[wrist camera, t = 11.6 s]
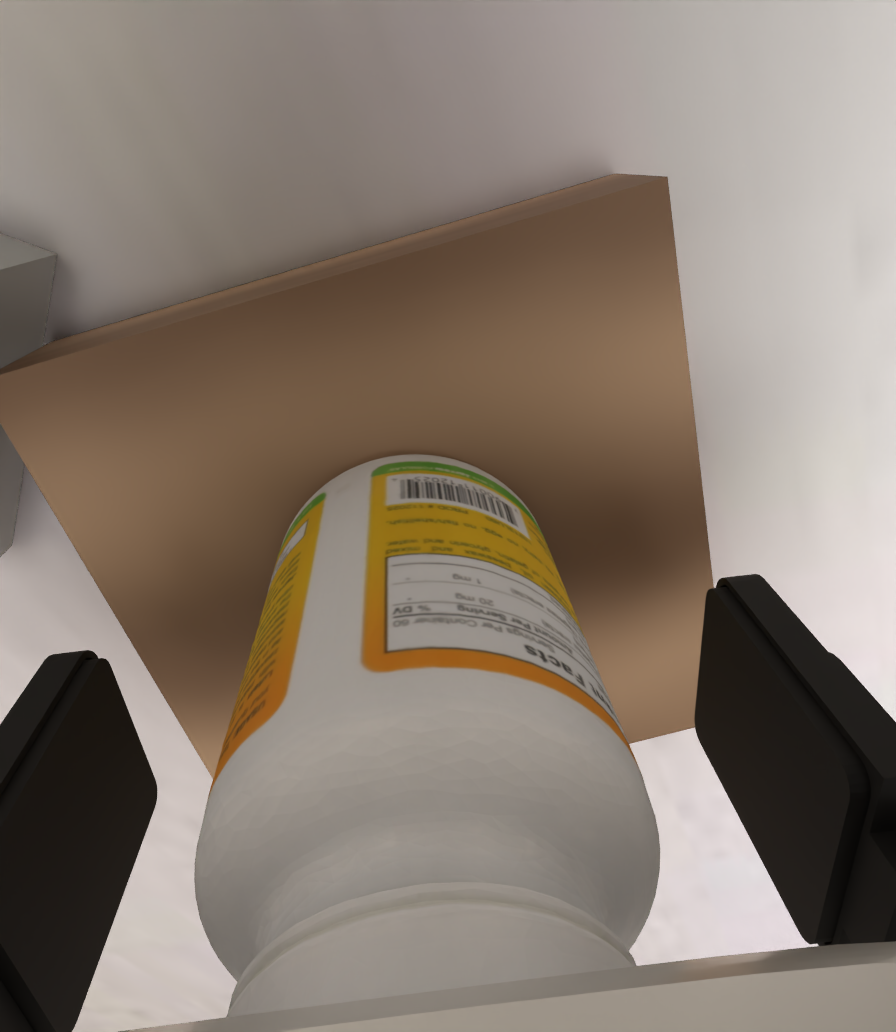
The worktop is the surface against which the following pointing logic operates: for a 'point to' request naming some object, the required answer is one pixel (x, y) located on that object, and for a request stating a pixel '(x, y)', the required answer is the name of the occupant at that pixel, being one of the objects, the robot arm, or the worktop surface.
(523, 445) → the walnut block
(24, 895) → the robot arm
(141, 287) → the worktop surface
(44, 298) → the slate block
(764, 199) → the worktop surface
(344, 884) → the supplement bottle
